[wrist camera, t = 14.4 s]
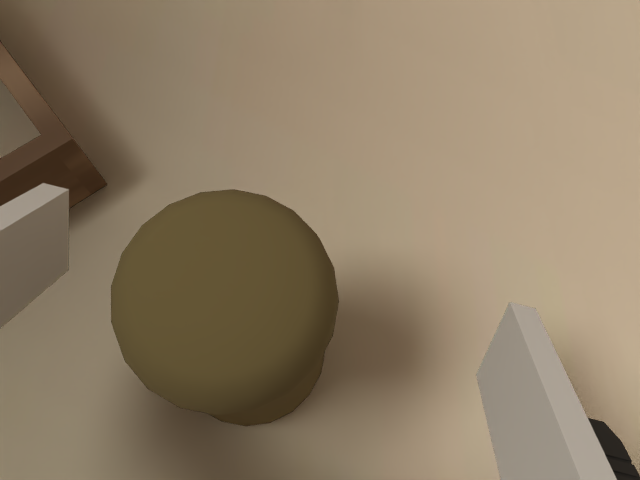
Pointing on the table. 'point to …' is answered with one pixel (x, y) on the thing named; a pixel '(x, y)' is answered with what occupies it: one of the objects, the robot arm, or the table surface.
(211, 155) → the table surface
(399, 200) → the table surface
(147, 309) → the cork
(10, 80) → the walnut box
